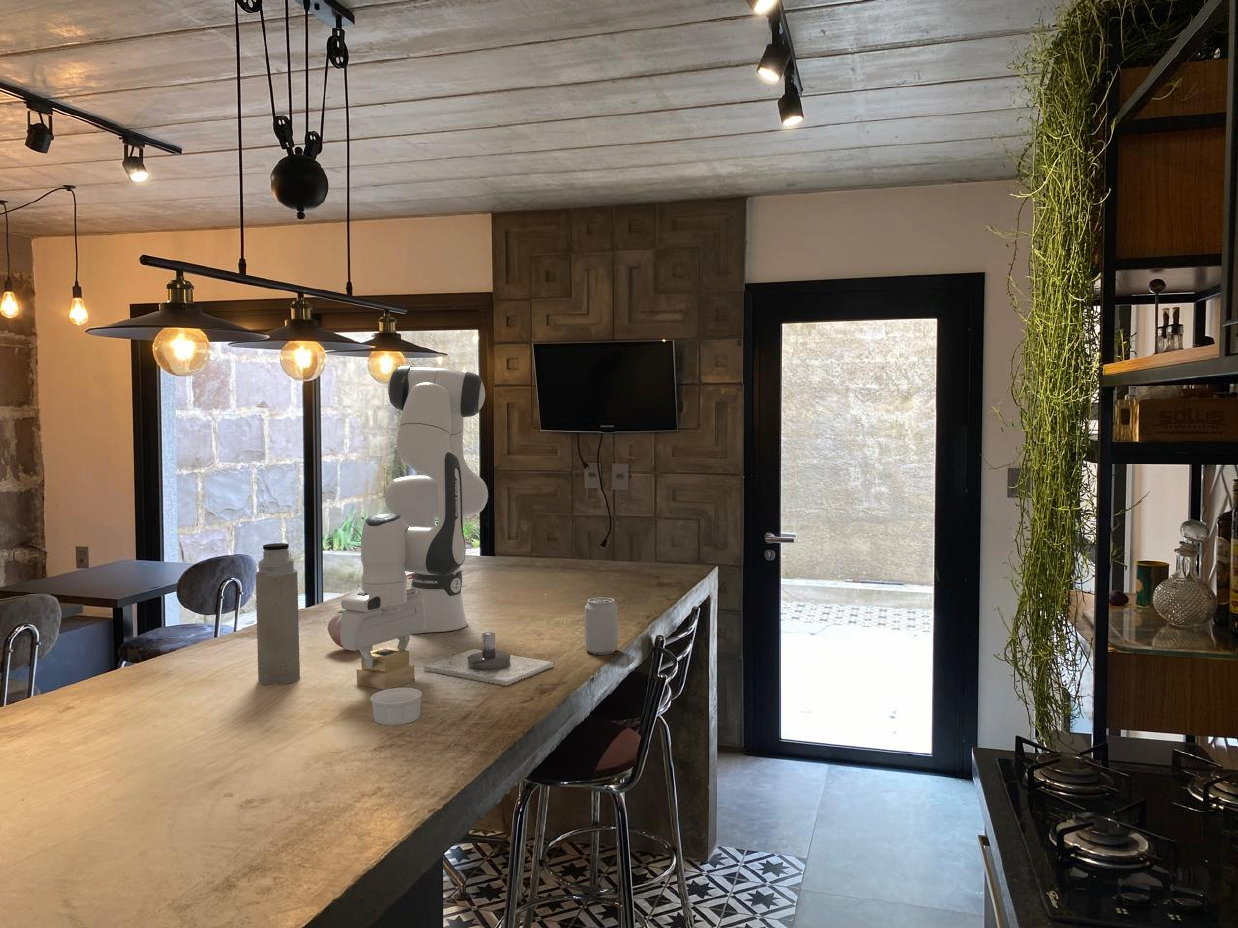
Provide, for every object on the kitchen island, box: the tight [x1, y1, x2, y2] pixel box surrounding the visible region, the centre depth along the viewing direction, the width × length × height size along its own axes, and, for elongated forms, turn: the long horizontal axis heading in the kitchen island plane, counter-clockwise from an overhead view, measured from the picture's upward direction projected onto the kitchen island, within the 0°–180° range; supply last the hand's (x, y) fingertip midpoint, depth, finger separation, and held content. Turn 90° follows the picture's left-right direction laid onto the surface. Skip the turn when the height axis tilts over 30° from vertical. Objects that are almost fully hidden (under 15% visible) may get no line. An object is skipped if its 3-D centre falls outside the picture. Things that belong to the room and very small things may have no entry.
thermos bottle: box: [255, 542, 301, 686], centre depth 184 cm, size 8×8×28 cm
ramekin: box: [370, 687, 423, 726], centre depth 160 cm, size 9×9×4 cm
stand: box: [356, 649, 416, 690], centre depth 182 cm, size 8×8×6 cm
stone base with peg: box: [423, 631, 554, 687], centre depth 192 cm, size 22×16×8 cm
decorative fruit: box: [327, 609, 349, 651], centre depth 208 cm, size 9×8×10 cm
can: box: [584, 596, 619, 656], centre depth 205 cm, size 8×8×12 cm
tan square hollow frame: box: [360, 646, 410, 673], centre depth 182 cm, size 7×7×3 cm
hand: (385, 662), depth 182 cm, fingers closed on tan square hollow frame, 7 cm apart
